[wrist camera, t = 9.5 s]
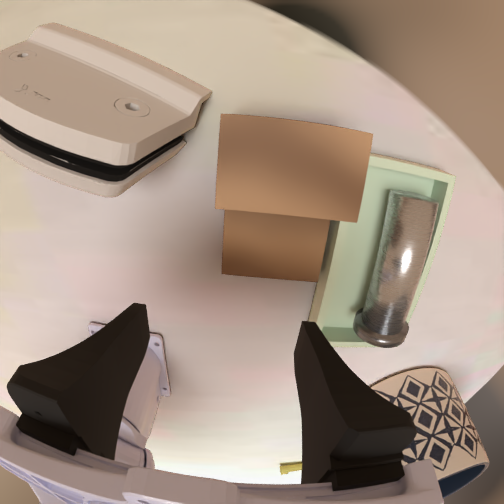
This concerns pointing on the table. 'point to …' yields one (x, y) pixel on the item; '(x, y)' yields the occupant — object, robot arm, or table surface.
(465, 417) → the planter
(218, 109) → the table surface
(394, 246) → the pin
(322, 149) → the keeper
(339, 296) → the tray
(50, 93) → the white curved plastic device
